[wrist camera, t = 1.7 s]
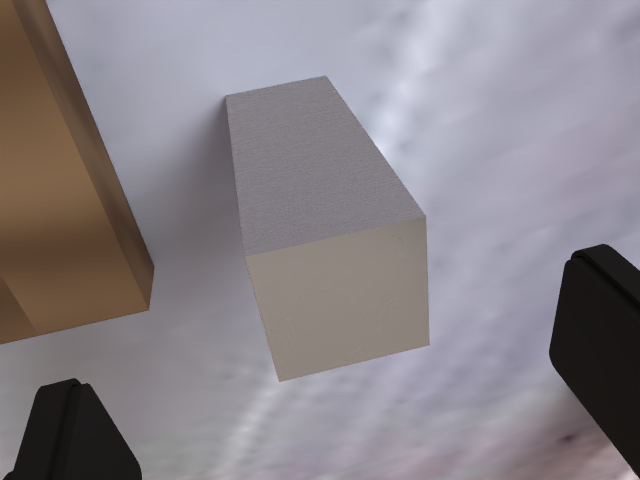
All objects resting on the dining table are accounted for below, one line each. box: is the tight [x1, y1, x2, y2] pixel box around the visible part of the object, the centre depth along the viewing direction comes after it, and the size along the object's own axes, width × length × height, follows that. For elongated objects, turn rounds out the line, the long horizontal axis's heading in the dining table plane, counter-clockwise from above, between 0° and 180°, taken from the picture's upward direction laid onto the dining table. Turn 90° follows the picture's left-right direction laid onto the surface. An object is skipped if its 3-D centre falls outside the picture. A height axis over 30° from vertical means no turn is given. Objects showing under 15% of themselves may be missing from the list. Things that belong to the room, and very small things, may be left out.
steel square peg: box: [226, 76, 429, 382], centre depth 17 cm, size 4×4×11 cm
